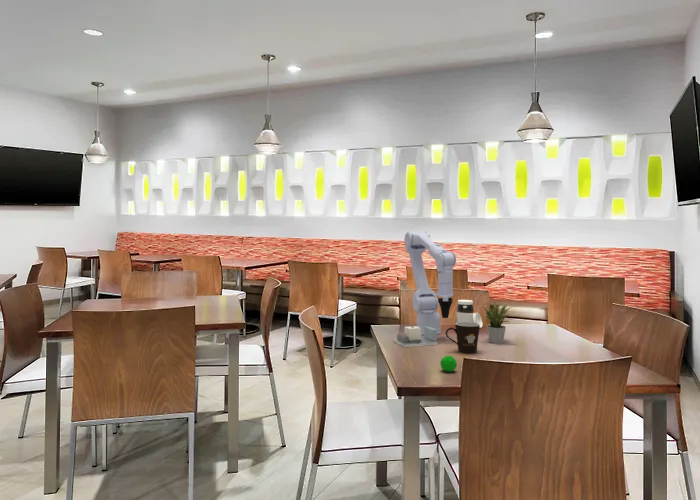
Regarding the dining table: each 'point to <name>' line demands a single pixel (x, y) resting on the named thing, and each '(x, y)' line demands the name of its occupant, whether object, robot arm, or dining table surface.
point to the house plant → (496, 324)
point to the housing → (413, 332)
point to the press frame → (413, 341)
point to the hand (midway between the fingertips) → (445, 317)
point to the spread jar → (467, 312)
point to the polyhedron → (448, 363)
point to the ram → (430, 333)
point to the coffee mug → (466, 336)
